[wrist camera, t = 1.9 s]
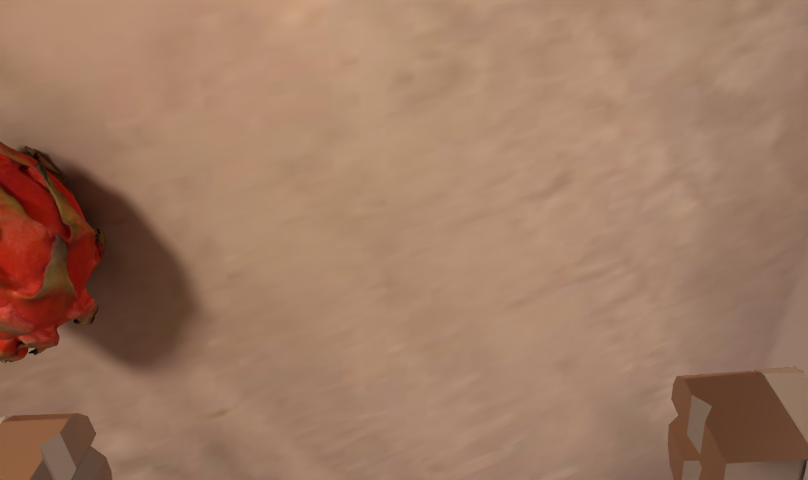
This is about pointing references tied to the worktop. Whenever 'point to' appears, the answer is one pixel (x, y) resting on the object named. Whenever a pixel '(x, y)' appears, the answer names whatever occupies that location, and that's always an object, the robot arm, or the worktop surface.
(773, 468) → the robot arm
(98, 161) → the worktop surface
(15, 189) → the dragon fruit
